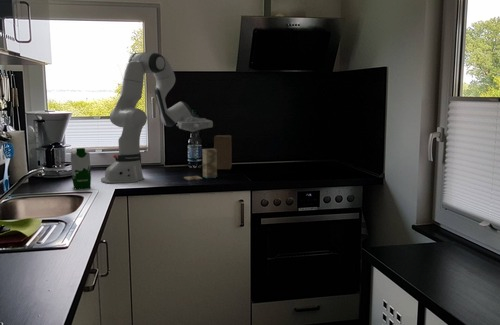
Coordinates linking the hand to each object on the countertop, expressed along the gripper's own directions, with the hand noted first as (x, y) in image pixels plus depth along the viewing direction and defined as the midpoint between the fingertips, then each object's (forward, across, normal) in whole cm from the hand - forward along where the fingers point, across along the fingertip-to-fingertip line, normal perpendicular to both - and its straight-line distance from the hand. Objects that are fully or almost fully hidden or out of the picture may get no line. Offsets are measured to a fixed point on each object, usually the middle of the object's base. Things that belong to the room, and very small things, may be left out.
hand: (200, 125), depth 281 cm
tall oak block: (+13, 0, +28) cm, 31 cm away
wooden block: (-11, +19, +28) cm, 35 cm away
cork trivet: (+13, -10, +28) cm, 32 cm away
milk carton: (+10, -68, +27) cm, 74 cm away
